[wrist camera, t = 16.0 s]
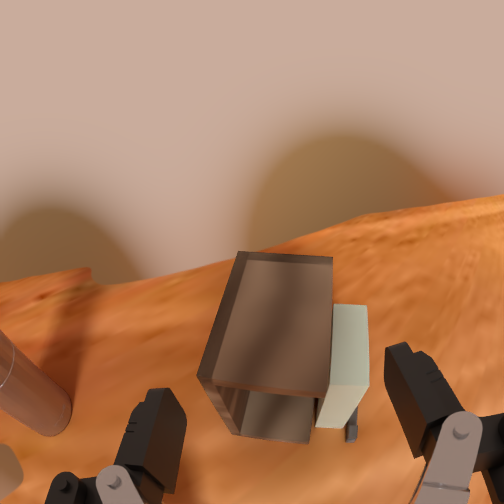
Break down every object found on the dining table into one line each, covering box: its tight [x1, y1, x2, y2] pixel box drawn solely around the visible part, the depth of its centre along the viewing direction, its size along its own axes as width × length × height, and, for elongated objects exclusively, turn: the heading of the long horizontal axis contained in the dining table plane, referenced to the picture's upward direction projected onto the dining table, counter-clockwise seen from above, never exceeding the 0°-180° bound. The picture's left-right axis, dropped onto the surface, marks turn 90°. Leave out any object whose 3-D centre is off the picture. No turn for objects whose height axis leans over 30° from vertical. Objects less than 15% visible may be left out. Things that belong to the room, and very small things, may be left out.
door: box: [315, 304, 369, 428], centre depth 31 cm, size 4×9×14 cm, turn 170°
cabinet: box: [196, 251, 358, 444], centre depth 30 cm, size 15×14×18 cm
